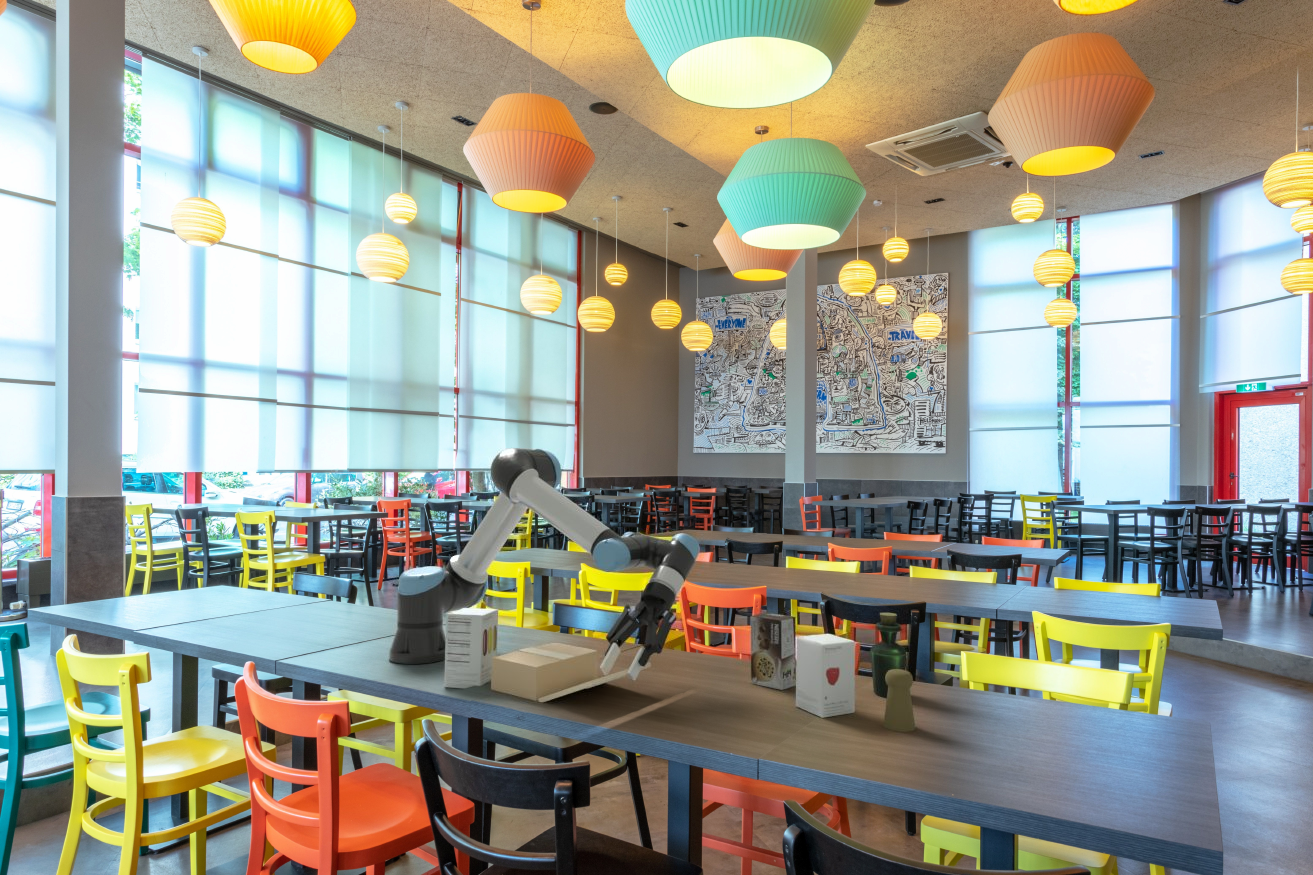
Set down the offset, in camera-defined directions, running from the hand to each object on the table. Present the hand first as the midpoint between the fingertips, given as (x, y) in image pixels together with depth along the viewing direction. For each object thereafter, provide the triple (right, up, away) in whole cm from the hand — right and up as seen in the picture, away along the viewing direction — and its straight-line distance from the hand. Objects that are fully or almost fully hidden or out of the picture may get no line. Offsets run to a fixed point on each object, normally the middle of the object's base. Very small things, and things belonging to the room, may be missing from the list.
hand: (617, 673), depth 164 cm
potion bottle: (+61, -8, +9) cm, 62 cm away
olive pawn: (+57, -6, -14) cm, 59 cm away
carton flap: (-11, -5, +5) cm, 13 cm away
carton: (-17, -6, +9) cm, 20 cm away
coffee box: (+36, -8, +16) cm, 40 cm away
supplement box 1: (-35, -7, +13) cm, 38 cm away
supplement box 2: (+44, -7, -4) cm, 45 cm away
